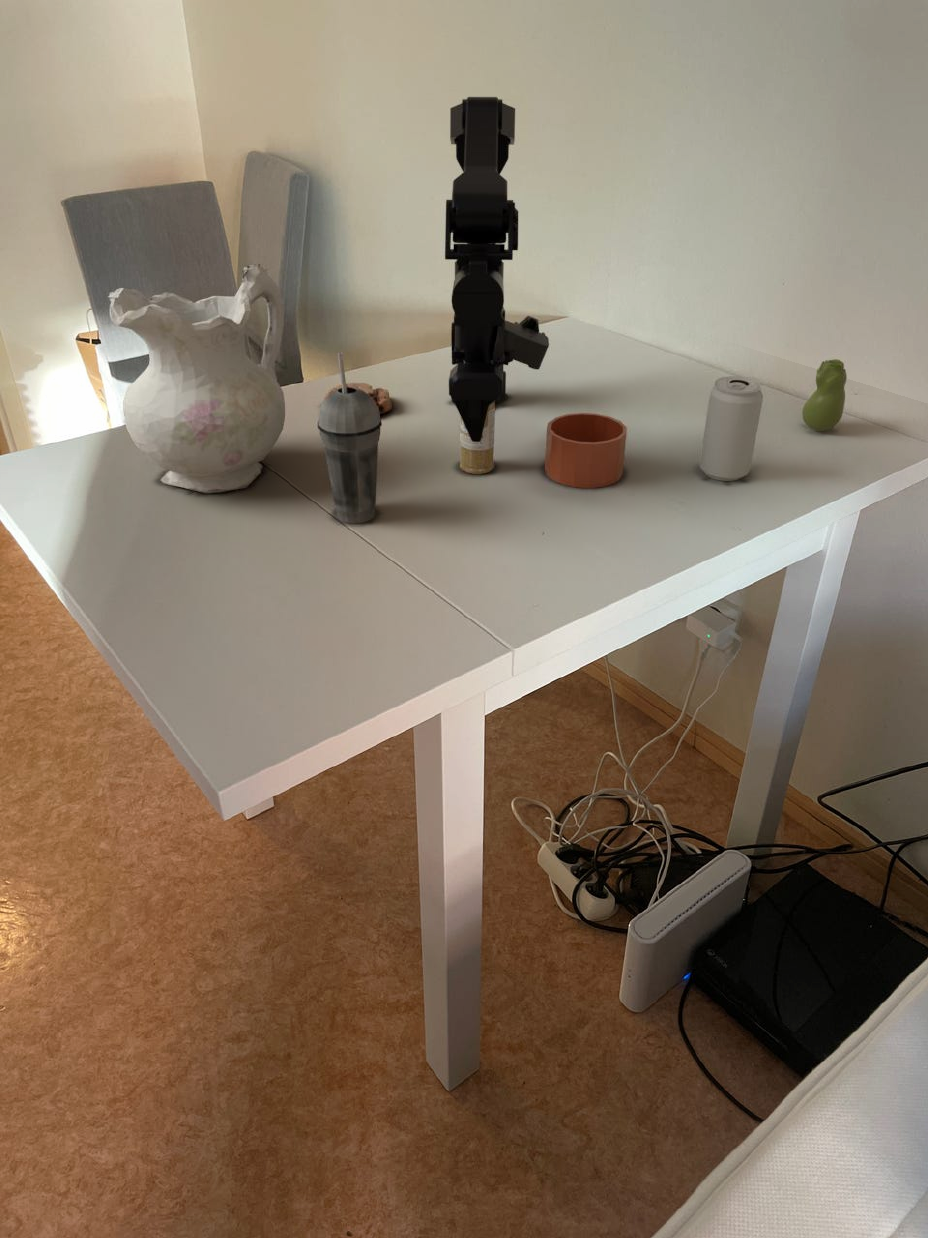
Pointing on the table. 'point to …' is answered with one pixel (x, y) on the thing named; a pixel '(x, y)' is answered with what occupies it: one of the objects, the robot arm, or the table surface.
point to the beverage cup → (351, 449)
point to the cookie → (371, 395)
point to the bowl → (585, 450)
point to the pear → (826, 397)
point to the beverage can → (731, 428)
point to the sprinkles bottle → (478, 446)
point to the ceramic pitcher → (204, 384)
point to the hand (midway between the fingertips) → (477, 427)
